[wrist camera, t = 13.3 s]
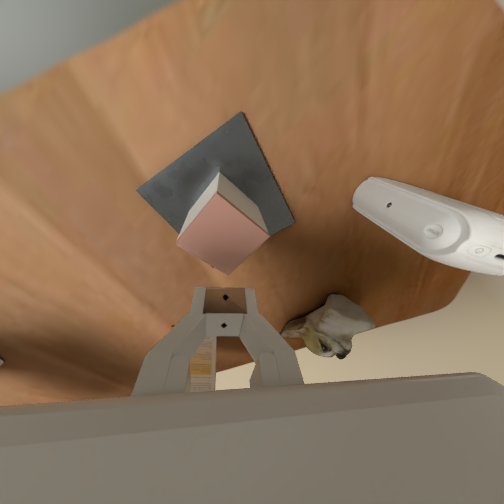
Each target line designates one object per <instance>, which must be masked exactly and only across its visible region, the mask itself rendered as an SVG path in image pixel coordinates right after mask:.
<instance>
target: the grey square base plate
mask: <svg viewBox="0 0 504 504" xmlns="http://www.w3.org/2000/svg"><path fill="white" fill-rule="evenodd" d="M219 172H220V173H221V174H222V175H224V176H225V177H226V178H227V179H228V180H229V181H230V182H231V183H233V184H234V185H235V186H236V187H237V188H238V189H239V190H240V191H242V192H243V193H244V194H245V195H246V196H247V197H248V198H249V199H251V200H252V201H253V202H254V203H255V204H256V205H257V206H258V208H259V210H260V213H261V215H262V218H263V221H264V223H265V226H266V228H267V231H268V233H269V236H271V235H273V234H275V233H277V232H278V231H280V230H282V229H284V228H286V227H287V226H289V225H291V224H293V223H295V221H294V219H293V217H292V215H291V213H290V211H289V209H288V207H287V205H286V203H285V201H284V198H283V196H282V194H281V192H280V190H279V188H278V186H277V184H276V182H275V180H274V178H273V176H272V174H271V172H270V170H269V168H268V165H267V163H266V161H265V159H264V157H263V155H262V153H261V151H260V149H259V147H258V145H257V143H256V141H255V139H254V137H253V135H252V132H251V130H250V128H249V126H248V124H247V122H246V120H245V118H244V116H243V114H242V112H239V113H238V114H237V115H235V116H234V117H233V118H231V119H230V120H229V121H227V122H226V123H225V124H223V125H222V126H221V127H219V128H218V129H217V130H215V131H214V132H213V133H211V134H210V135H209V136H207V137H206V138H205V139H203V140H202V141H201V142H199V143H198V144H197V145H195V146H194V147H193V148H191V149H190V150H189V151H187V152H186V153H185V154H183V155H182V156H181V157H179V158H178V159H177V160H175V161H174V162H173V163H171V164H170V165H169V166H167V167H166V168H165V169H163V170H162V171H161V172H159V173H158V174H157V175H155V176H154V177H153V178H151V179H150V180H149V181H147V182H146V183H145V184H143V185H142V186H141V187H139V188H138V189H137V190H136V191H137V192H138V193H139V194H140V195H141V196H142V197H143V198H144V199H145V200H146V201H147V202H148V203H149V204H150V205H151V206H152V207H153V208H154V209H155V210H156V211H157V212H158V213H159V214H160V215H161V216H162V217H163V218H164V219H165V220H166V221H167V222H168V223H169V224H170V225H171V226H172V227H173V228H174V229H175V230H176V231H177V232H178V233H179V234H180V231H181V229H182V227H183V224H184V222H185V220H186V217H187V215H188V213H189V211H190V209H191V208H192V207H193V205H194V204H195V203H196V201H197V200H198V199H199V198H200V196H201V195H202V194H203V192H204V191H205V190H206V189H207V187H208V186H209V185H210V183H211V182H212V181H213V180H214V178H215V177H216V176H217V174H218V173H219ZM212 267H213V266H212ZM213 268H214V267H213Z"/></svg>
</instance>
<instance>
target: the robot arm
mask: <svg viewBox="0 0 504 504" xmlns="http://www.w3.org/2000/svg"><path fill="white" fill-rule="evenodd" d="M215 336H239V338H240V339H241V341H242V342H243V344H244V346H245V347H246V349H247V351H248V352H249V354H250V355H251V357H252V359H253V360H254V362H255V364H256V365H255V368H254V370H253V373H252V376H251V379H250V388H244V389H230V390H216V391H202V392H190V390H191V373H190V360H191V358H192V357H193V355H194V354H195V352H196V351H197V350H198V348H199V347H200V345H201V344H202V342H203V341H204V339H205V337H215ZM3 363H4V362H3V361H2V360H1V359H0V366H1V365H2V364H3ZM0 504H504V386H503V385H501V384H499V383H498V382H496V381H494V380H493V379H491V378H489V377H487V376H486V375H483V374H480V373H476V372H467V373H453V374H439V375H425V376H411V377H398V378H384V379H370V380H356V381H342V382H328V383H314V384H304V381H303V378H302V375H301V371H300V368H299V364H298V361H297V358H296V355H295V351H294V350H293V349H292V348H291V346H290V345H289V344H288V343H287V342H286V341H285V340H284V339H283V338H282V336H281V335H280V334H279V333H278V332H277V331H276V330H275V329H274V328H273V326H272V325H271V324H270V323H269V322H268V321H267V320H266V319H265V318H264V317H263V315H262V314H258V308H257V302H256V296H255V290H254V288H220V287H199V286H196V288H195V291H194V296H193V301H192V306H191V312H190V314H186V315H185V316H184V317H183V318H182V319H181V320H180V321H179V322H178V323H177V324H176V325H175V326H174V327H173V328H172V329H171V330H170V331H169V332H168V333H167V334H166V335H165V336H164V337H163V338H162V339H161V340H160V341H159V342H158V343H157V344H156V345H155V346H154V347H153V348H152V349H151V351H150V352H149V353H148V354H147V355H146V356H145V358H144V361H143V364H142V367H141V369H140V372H139V375H138V378H137V381H136V383H135V386H134V389H133V392H132V394H131V397H119V398H105V399H91V400H78V401H64V402H50V403H36V404H22V405H8V406H0Z"/></svg>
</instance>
